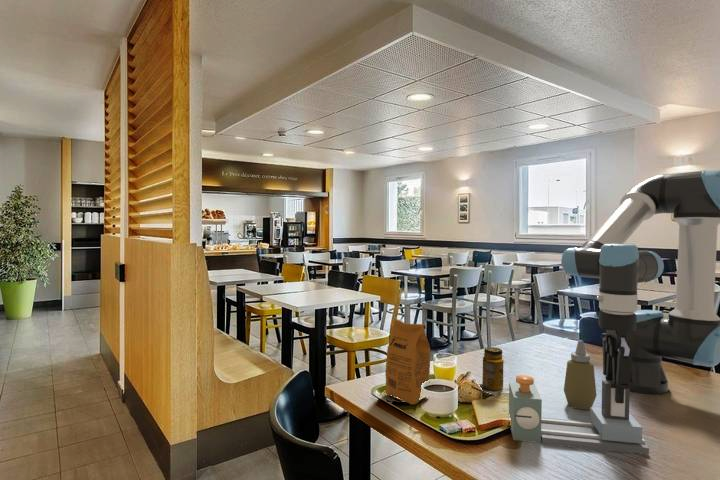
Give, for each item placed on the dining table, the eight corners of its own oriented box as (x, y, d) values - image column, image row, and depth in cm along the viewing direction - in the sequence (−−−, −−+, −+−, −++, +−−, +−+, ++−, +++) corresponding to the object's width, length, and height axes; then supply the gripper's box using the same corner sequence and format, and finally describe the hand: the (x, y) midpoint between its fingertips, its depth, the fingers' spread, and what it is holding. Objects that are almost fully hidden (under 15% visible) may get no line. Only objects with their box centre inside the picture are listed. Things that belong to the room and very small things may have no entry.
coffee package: (402, 386, 135) (403, 315, 134) (434, 398, 126) (435, 322, 125) (379, 394, 128) (379, 320, 128) (411, 408, 119) (411, 327, 118)
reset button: (532, 389, 107) (532, 375, 107) (534, 395, 103) (535, 381, 103) (514, 388, 108) (514, 374, 108) (516, 394, 104) (517, 380, 104)
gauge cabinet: (533, 423, 110) (534, 383, 110) (541, 443, 100) (542, 400, 99) (508, 420, 111) (509, 382, 111) (513, 441, 101) (514, 398, 101)
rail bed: (629, 431, 106) (629, 422, 106) (648, 454, 95) (649, 445, 95) (534, 422, 111) (534, 414, 110) (542, 443, 100) (542, 434, 100)
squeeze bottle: (595, 414, 115) (596, 346, 114) (561, 407, 119) (562, 342, 119) (597, 403, 122) (598, 339, 121) (565, 397, 126) (566, 335, 126)
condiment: (509, 389, 133) (509, 350, 132) (490, 395, 128) (491, 354, 128) (490, 382, 139) (490, 344, 138) (471, 387, 134) (471, 348, 134)
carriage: (626, 424, 105) (627, 377, 105) (642, 443, 96) (643, 391, 96) (590, 421, 107) (590, 374, 106) (602, 439, 98) (603, 388, 97)
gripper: (589, 304, 109) (587, 398, 110) (610, 317, 94) (608, 426, 95) (623, 305, 107) (620, 400, 108) (650, 319, 92) (647, 429, 93)
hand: (615, 412), depth 101 cm, fingers closed on carriage, 2 cm apart
